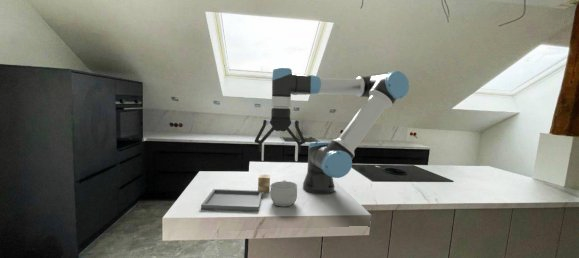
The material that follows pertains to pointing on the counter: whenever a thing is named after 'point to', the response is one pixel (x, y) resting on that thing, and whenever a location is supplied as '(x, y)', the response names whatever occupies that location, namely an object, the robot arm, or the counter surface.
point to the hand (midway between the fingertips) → (279, 160)
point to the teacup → (283, 193)
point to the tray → (232, 200)
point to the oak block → (264, 183)
